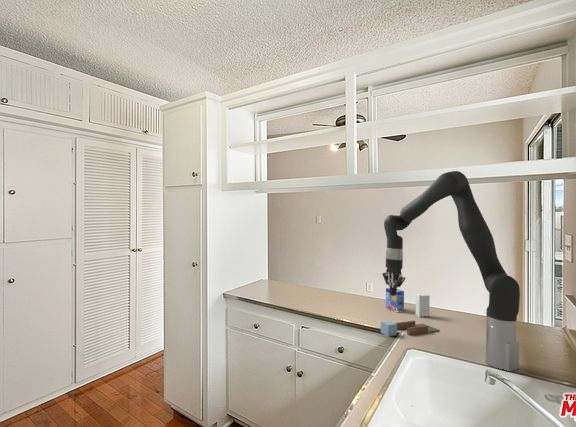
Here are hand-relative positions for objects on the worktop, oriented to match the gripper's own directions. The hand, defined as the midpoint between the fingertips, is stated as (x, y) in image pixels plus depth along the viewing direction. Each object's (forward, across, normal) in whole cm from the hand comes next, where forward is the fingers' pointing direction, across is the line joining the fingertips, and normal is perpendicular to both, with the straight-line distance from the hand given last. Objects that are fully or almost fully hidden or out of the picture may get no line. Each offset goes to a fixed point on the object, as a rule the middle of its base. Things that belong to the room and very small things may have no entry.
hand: (392, 295), depth 143 cm
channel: (+17, 0, +12) cm, 21 cm away
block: (+18, +1, -2) cm, 18 cm away
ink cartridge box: (+18, -31, +30) cm, 46 cm away
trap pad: (+17, 0, +22) cm, 28 cm away
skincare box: (+17, -16, +36) cm, 43 cm away
